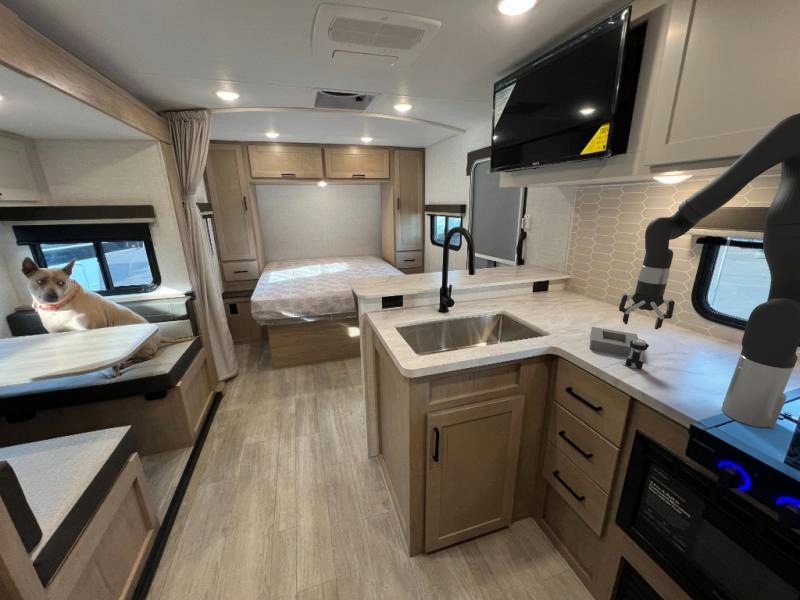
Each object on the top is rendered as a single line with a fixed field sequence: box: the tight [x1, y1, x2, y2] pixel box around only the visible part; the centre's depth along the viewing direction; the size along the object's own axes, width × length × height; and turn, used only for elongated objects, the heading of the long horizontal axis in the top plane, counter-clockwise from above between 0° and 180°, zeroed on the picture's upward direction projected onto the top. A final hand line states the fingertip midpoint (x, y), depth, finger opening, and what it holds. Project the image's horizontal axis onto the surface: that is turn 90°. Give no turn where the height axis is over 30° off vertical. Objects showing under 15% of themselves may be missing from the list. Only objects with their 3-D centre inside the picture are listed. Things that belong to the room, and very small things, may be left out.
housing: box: [589, 326, 642, 358], centre depth 128 cm, size 16×16×4 cm
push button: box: [620, 338, 650, 371], centre depth 111 cm, size 7×5×10 cm
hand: (640, 326), depth 108 cm, fingers open, 8 cm apart
